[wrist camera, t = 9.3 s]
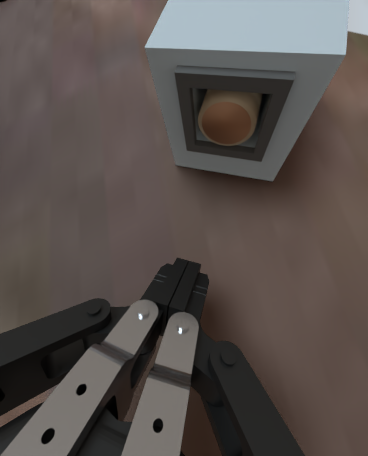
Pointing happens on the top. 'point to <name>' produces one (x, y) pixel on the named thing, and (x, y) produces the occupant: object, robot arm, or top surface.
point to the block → (244, 73)
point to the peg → (229, 116)
